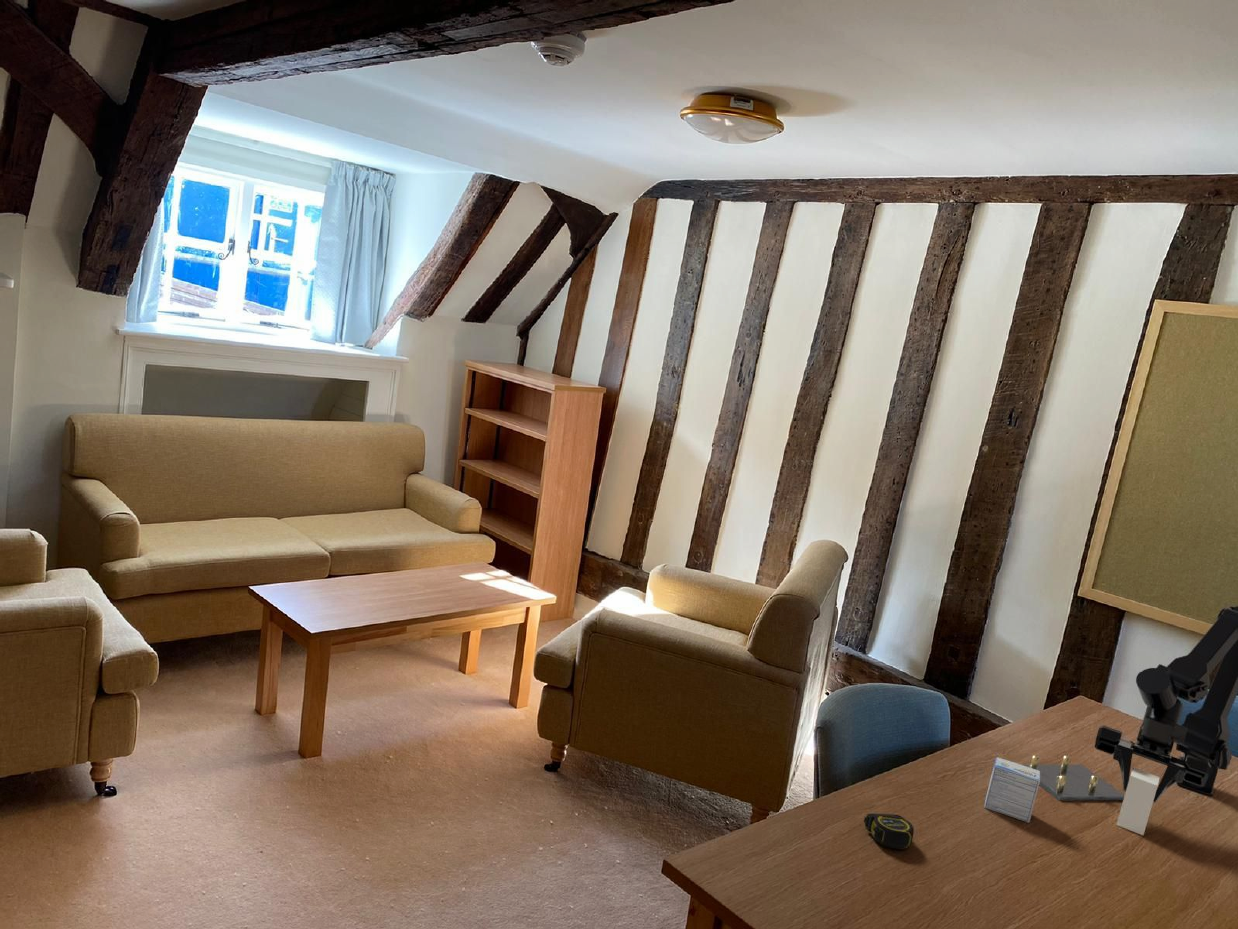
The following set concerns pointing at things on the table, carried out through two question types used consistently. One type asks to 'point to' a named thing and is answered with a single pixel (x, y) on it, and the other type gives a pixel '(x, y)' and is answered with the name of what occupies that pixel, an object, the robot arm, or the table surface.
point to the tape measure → (890, 830)
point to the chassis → (1073, 782)
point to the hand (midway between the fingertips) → (1139, 796)
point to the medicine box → (1012, 789)
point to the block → (1138, 801)
